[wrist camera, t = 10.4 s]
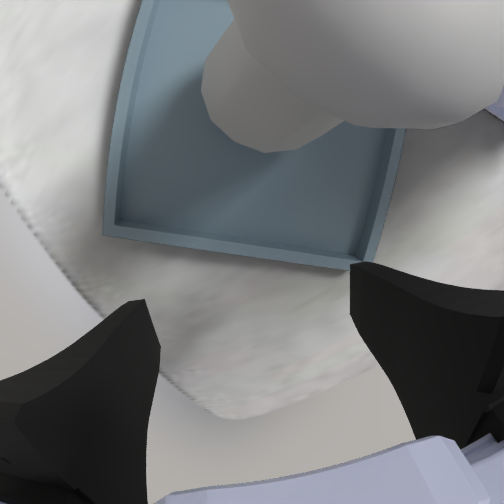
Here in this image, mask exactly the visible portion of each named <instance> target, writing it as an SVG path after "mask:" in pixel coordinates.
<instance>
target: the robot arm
mask: <svg viewBox="0 0 504 504" xmlns="http://www.w3.org/2000/svg"><path fill="white" fill-rule="evenodd" d="M484 109H486V110H487V111H489V112H491V113H492V114H494V115H495V116H497V117H498V118H499V119H501V120H502V121H504V87H503V89H502V92H501V94H500V96H499V99H498V101H497V102H495V103H493V104H491V105H490V106H488V107H486V108H484ZM350 315H351V317H352V319H353V322H354V324H355V326H356V328H357V330H358V332H359V334H360V336H361V337H362V339H363V340H364V342H365V343H366V345H367V347H368V348H369V350H370V351H371V352H372V354H373V355H374V357H375V358H376V360H377V361H378V363H379V364H380V366H381V367H382V369H383V370H384V372H385V373H386V375H387V376H388V378H389V380H390V381H391V383H392V385H393V387H394V389H395V391H396V393H397V395H398V397H399V399H400V401H401V404H402V406H403V408H404V410H405V413H406V415H407V417H408V420H409V422H410V425H411V427H412V430H413V433H414V435H415V437H416V440H414V441H410V442H406V443H402V444H399V445H396V446H394V447H391V448H388V449H385V450H382V451H379V452H377V453H374V454H371V455H368V456H364V457H361V458H358V459H355V460H351V461H348V462H345V463H341V464H337V465H334V466H330V467H326V468H322V469H318V470H314V471H309V472H305V473H300V474H295V475H290V476H285V477H279V478H274V479H268V480H262V481H254V482H247V483H239V484H230V485H218V486H208V487H202V488H197V489H191V490H184V491H178V492H173V493H171V494H169V495H167V496H165V497H164V498H162V499H160V500H159V501H157V502H156V503H154V504H504V291H499V290H482V289H472V288H464V287H458V286H453V285H448V284H443V283H439V282H435V281H431V280H427V279H424V278H420V277H417V276H414V275H410V274H407V273H404V272H401V271H398V270H395V269H392V268H389V267H386V266H383V265H380V264H376V263H372V262H367V261H364V262H359V263H354V264H350ZM160 349H161V346H160V344H159V341H158V338H157V335H156V332H155V329H154V326H153V323H152V320H151V317H150V314H149V311H148V308H147V305H146V302H145V299H142V300H135V301H129V302H127V303H125V304H123V305H122V306H121V307H119V308H118V309H117V310H115V311H114V312H113V313H112V314H110V315H109V316H108V317H107V318H105V319H104V320H103V321H102V322H101V323H99V324H98V325H97V326H96V327H94V328H93V329H92V330H90V331H89V332H88V333H86V334H85V335H84V336H82V337H81V338H80V339H79V340H77V341H76V342H75V343H73V344H72V345H70V346H69V347H67V348H66V349H64V350H63V351H61V352H60V353H58V354H56V355H55V356H53V357H51V358H50V359H48V360H46V361H44V362H42V363H40V364H38V365H36V366H34V367H32V368H30V369H28V370H26V371H24V372H21V373H19V374H17V375H14V376H12V377H9V378H6V379H3V380H1V381H0V504H148V502H147V486H146V445H147V429H148V422H149V416H150V411H151V406H152V401H153V397H154V392H155V387H156V382H157V377H158V373H159V365H160Z"/></svg>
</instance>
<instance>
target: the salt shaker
mask: <svg viewBox="0 0 504 504" xmlns="http://www.w3.org/2000/svg"><path fill="white" fill-rule="evenodd" d="M227 1H228V4H229V6H230V9H231V11H232V14H233V17H234V20H233V21H232V23H231V24H230V26H229V27H228V28H227V30H226V31H225V32H224V34H223V35H222V37H221V38H220V39H219V41H218V42H217V44H216V45H215V47H214V48H213V49H212V51H211V52H210V54H209V55H208V57H207V58H206V60H205V62H204V69H203V77H202V85H201V93H202V96H203V99H204V102H205V105H206V108H207V111H208V114H209V117H210V120H211V121H212V122H213V123H214V124H216V125H217V126H218V127H219V128H220V129H221V130H222V131H223V132H224V133H225V134H226V135H227V136H229V137H230V138H231V139H232V140H233V141H234V142H236V143H239V144H242V145H244V146H247V147H250V148H252V149H255V150H258V151H260V152H263V153H269V152H278V151H288V150H296V149H298V148H300V147H302V146H303V145H305V144H307V143H309V142H311V141H313V140H314V139H316V138H318V137H320V136H322V135H323V134H325V133H326V132H328V131H329V130H331V129H332V128H334V127H335V126H337V125H338V124H340V123H341V122H343V121H344V120H345V121H347V122H349V123H351V124H352V125H354V126H362V127H370V128H406V129H431V130H433V129H436V128H440V127H444V126H448V125H452V124H456V123H460V122H462V121H464V120H465V119H467V118H469V117H471V116H472V115H474V114H476V113H478V112H479V111H481V110H483V109H484V108H486V107H488V106H490V105H491V104H493V103H495V102H497V101H498V99H499V96H500V94H501V92H502V89H503V87H504V0H227Z"/></svg>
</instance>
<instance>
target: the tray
mask: <svg viewBox="0 0 504 504" xmlns="http://www.w3.org/2000/svg"><path fill="white" fill-rule="evenodd" d="M233 20H234V17H233V14H232V11H231V9H230V6H229V4H228V1H227V0H143V1H142V4H141V7H140V10H139V13H138V17H137V20H136V23H135V27H134V30H133V34H132V38H131V41H130V45H129V49H128V53H127V57H126V61H125V66H124V70H123V75H122V79H121V84H120V89H119V94H118V99H117V105H116V110H115V116H114V122H113V129H112V135H111V142H110V150H109V158H108V167H107V176H106V187H105V199H104V213H103V233H102V235H103V236H110V237H117V238H124V239H130V240H137V241H144V242H151V243H158V244H165V245H172V246H178V247H185V248H192V249H199V250H206V251H213V252H220V253H227V254H234V255H241V256H248V257H255V258H262V259H269V260H277V261H284V262H291V263H298V264H305V265H312V266H319V267H327V268H334V269H341V270H348V271H350V264H354V263H359V262H364V261H367V262H372V263H373V260H374V256H375V253H376V250H377V247H378V243H379V240H380V236H381V233H382V229H383V226H384V222H385V218H386V215H387V211H388V207H389V203H390V199H391V195H392V191H393V187H394V183H395V179H396V174H397V170H398V165H399V161H400V156H401V151H402V146H403V141H404V136H405V131H406V128H370V127H362V126H354V125H352V124H351V123H349V122H347V121H345V120H344V121H343V122H341V123H340V124H338V125H337V126H335V127H334V128H332V129H331V130H329V131H328V132H326V133H325V134H323V135H322V136H320V137H318V138H316V139H314V140H313V141H311V142H309V143H307V144H305V145H303V146H302V147H300V148H298V149H296V150H288V151H278V152H269V153H263V152H260V151H258V150H255V149H252V148H250V147H247V146H244V145H242V144H239V143H236V142H234V141H233V140H232V139H231V138H230V137H229V136H227V135H226V134H225V133H224V132H223V131H222V130H221V129H220V128H219V127H218V126H217V125H216V124H214V123H213V122H212V121H211V120H210V117H209V114H208V111H207V108H206V105H205V102H204V99H203V96H202V93H201V85H202V77H203V69H204V62H205V60H206V58H207V57H208V55H209V54H210V52H211V51H212V49H213V48H214V47H215V45H216V44H217V42H218V41H219V39H220V38H221V37H222V35H223V34H224V32H225V31H226V30H227V28H228V27H229V26H230V24H231V23H232V21H233Z"/></svg>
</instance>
